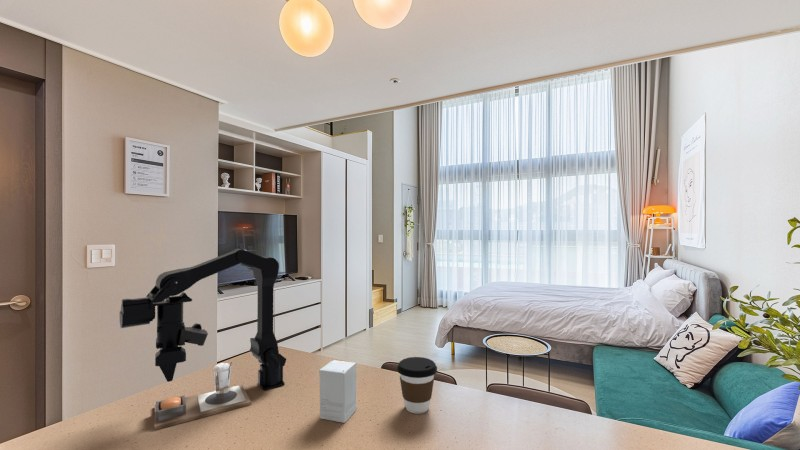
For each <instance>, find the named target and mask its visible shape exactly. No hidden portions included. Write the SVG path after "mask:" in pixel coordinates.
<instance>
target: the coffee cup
mask: <svg viewBox="0 0 800 450" xmlns="http://www.w3.org/2000/svg"><path fill="white" fill-rule="evenodd" d="M396 371H397V373H398V374H399V381H400V387H401V389H400V390H401V394H402V398H403V404H404V408H405V409H406V411H408V412H409V413H412V414H416V415H417V414H424V413H426V412H428V410H429V409H430V404H431V399H432V395H433V390H434V389H433V387H434V381H435V375H436V374H437V371H438V366H437V364H436V363H435V362H434V360H432V359H430V358H427V357H421V356H413V357H406V358H403V359H402V360H400V361H399V362H398V365H397V367H396Z"/></svg>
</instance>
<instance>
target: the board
mask: <svg viewBox="0 0 800 450" xmlns="http://www.w3.org/2000/svg"><path fill="white" fill-rule="evenodd" d="M178 397H179V398H181V405H180V406H176V407H172V408H168V409H163V410H161V402H162V401H163V400H164V399H163V400H159V401H155V404H154V421H153V423H154V424H153V429H154V431H156V430H159V429H164V428H167V427H171V426H175V425H179V424H183V423H186V422H190V421H194V420H198V419H201V418H205V417H210V416H213V415H216V414H217V415H218V414H220V413H221V414H222V413H224V412H228V411H233V410H236V409H239V408H244V407H247V406H251V405H252V401H251V398H250V397H249V395H248V393H247V391H246V389H245V387H244V385H243V384H238V385H237V384H236V385H234V386H229V395H228V396H227V397H226V398H224V399H216V397H215V390H211V391H207V392H203V393H199V394H193V395H190V396H185V395H180V396H178Z"/></svg>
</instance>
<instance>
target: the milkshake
mask: <svg viewBox="0 0 800 450" xmlns="http://www.w3.org/2000/svg"><path fill="white" fill-rule="evenodd" d="M232 365H233V361H231V362H230V363H227V362H221V363H218V364H216V365H214V367H213V368H212V371H213V372H212V373H213V382H214V391H215V397H216V399H224V398H226V397H227V396H228V395H229V387H230V382H231V381H230V379H231V372H232V371H231V370H232Z"/></svg>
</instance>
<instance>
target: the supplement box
mask: <svg viewBox="0 0 800 450" xmlns="http://www.w3.org/2000/svg"><path fill="white" fill-rule="evenodd" d="M318 371H319V418H320V420H321V419H322V420H327V421H331V422H337V423H338V422H339V423H343V424H345V423H346V422H348V420H349V419H350V417H351V416H353V414H354V413H355V412H356V411H357V408H358V407H357V404H358V403H357V402H358V401H357V362H353V361H352V362H351V361H342V360H335V359H332V360H331V361H330V362H328V363H327V364H326V365H324V366H323V367H321V368H320V369H319V370H318Z"/></svg>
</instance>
